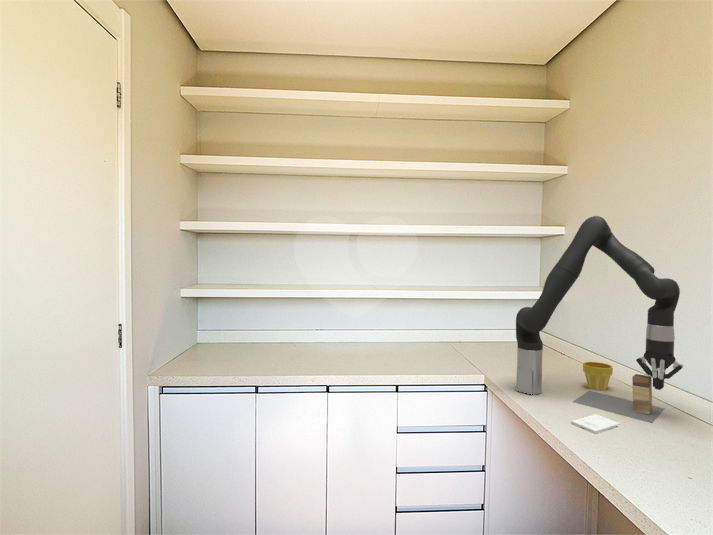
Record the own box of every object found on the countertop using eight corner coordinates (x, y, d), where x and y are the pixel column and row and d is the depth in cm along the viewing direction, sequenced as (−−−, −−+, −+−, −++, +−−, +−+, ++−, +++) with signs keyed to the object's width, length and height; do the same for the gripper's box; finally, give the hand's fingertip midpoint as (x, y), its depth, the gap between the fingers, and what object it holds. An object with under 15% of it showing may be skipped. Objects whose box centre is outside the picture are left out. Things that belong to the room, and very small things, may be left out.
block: (648, 414, 134) (648, 379, 134) (633, 411, 137) (632, 376, 137) (652, 411, 137) (651, 376, 137) (636, 407, 140) (635, 373, 140)
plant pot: (581, 382, 169) (582, 359, 168) (609, 386, 164) (610, 363, 164) (583, 390, 160) (584, 366, 159) (613, 394, 155) (614, 369, 155)
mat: (652, 425, 128) (652, 423, 128) (572, 403, 146) (572, 401, 146) (664, 410, 140) (664, 408, 140) (589, 391, 158) (589, 390, 158)
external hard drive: (619, 428, 127) (595, 435, 121) (594, 418, 134) (570, 425, 129) (619, 423, 127) (595, 430, 121) (594, 413, 134) (570, 420, 129)
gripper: (633, 336, 135) (631, 386, 136) (682, 343, 126) (681, 397, 126) (639, 333, 140) (637, 382, 141) (687, 339, 130) (685, 391, 131)
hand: (658, 389), depth 134 cm, fingers closed
